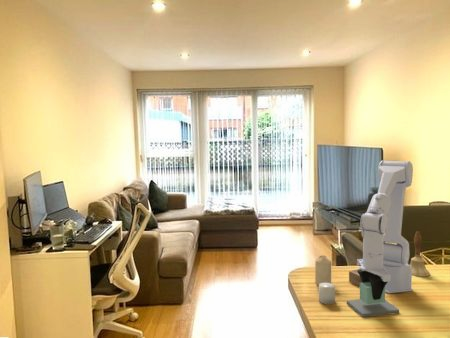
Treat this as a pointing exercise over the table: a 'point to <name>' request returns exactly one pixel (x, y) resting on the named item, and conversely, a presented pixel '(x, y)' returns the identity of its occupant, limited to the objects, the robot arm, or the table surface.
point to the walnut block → (355, 277)
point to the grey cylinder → (327, 293)
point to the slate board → (372, 308)
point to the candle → (322, 270)
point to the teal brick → (369, 294)
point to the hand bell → (418, 259)
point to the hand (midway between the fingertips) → (372, 295)
